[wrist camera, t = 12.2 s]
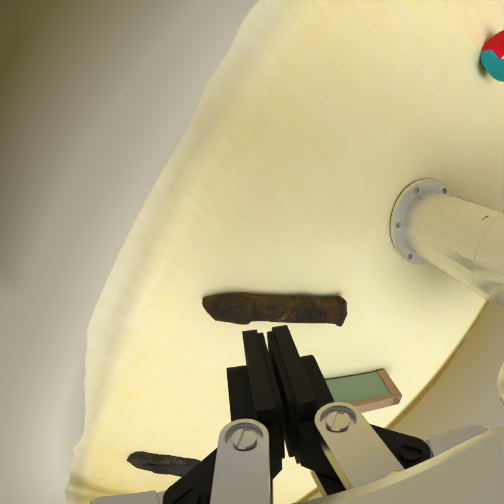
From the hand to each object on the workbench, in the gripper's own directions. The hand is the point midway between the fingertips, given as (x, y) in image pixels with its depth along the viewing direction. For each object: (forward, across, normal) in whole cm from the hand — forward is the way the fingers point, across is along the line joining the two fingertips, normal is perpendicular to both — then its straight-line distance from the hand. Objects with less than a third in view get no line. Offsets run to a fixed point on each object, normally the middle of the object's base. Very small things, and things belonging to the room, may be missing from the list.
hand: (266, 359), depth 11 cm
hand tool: (+28, -4, +13) cm, 31 cm away
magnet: (+27, -45, -24) cm, 58 cm away
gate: (+27, -14, +30) cm, 42 cm away
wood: (+28, +18, +51) cm, 61 cm away
